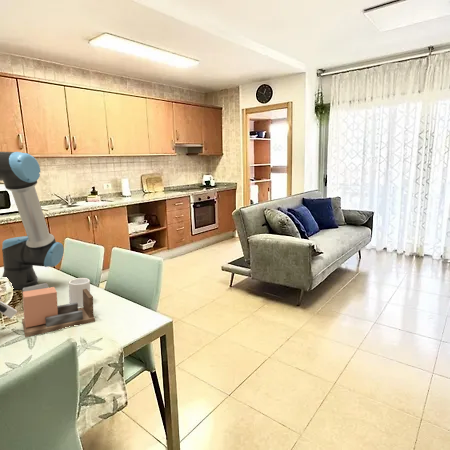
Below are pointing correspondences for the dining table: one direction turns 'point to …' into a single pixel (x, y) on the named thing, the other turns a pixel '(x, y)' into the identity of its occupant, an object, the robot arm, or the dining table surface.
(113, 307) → the dining table surface
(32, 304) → the pink block
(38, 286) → the electrical switch
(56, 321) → the wooden block holder
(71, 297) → the mug
